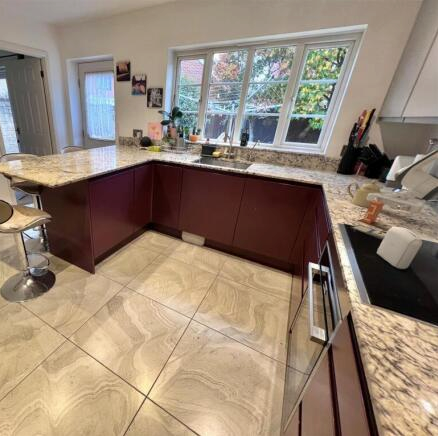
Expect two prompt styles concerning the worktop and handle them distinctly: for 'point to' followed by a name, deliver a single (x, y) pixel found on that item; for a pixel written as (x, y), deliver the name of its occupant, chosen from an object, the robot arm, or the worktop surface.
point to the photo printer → (399, 247)
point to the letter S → (373, 212)
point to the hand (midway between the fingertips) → (386, 204)
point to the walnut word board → (378, 225)
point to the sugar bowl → (364, 193)
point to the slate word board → (370, 231)
